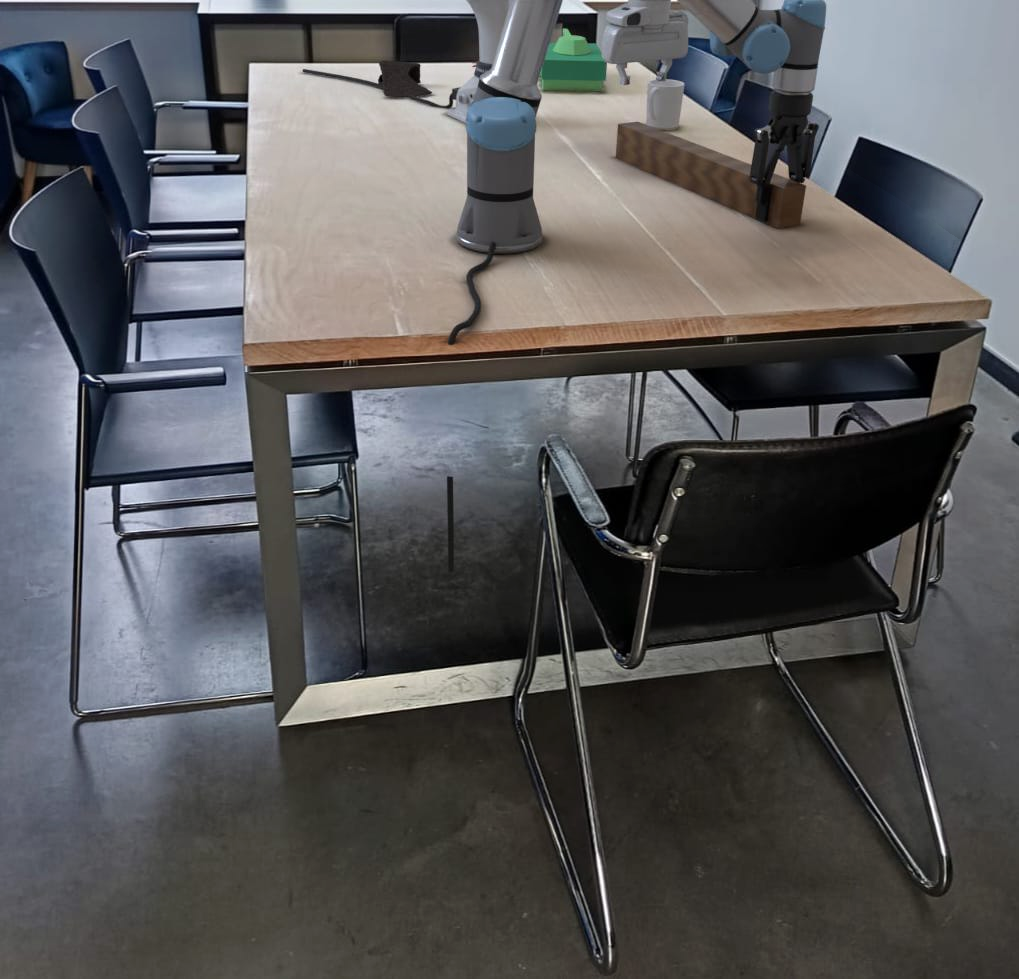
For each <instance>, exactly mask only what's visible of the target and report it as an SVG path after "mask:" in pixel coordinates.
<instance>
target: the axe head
mask: <svg viewBox="0 0 1019 979" xmlns="http://www.w3.org/2000/svg"><path fill="white" fill-rule="evenodd" d="M378 66H379V68H380V72H381V74H379V75H378V79H377V83H378V84H381V86H382V88H383V89H382V88H381V89H382V90H383V95H384V96H385V97H388V98H394V99H395V98H396V99H403V98H405V99H406V98H407V99H409V98H408V97H407V96H406V94H405V93H408V94H411V95H413V96H416V97H418V98H420V97H425V96H429V95H432V94H433V91H431V90H430V89H428V88H427V87H425V86H422V85H421V84H422V82H421V63H419V62H410V61H408V62H407V61H397V60H388V59H387V60H380V61H379V62H378Z"/></svg>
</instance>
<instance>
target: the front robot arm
mask: <svg viewBox="0 0 1019 979" xmlns="http://www.w3.org/2000/svg"><path fill="white" fill-rule="evenodd" d="M563 1H564V0H510V2H509V8H508V12H507V15H506V19H505V22H504V26H503V29H502V33H501V36H500V40H499V43H498V47H497V50H496V54H495V57H494V61H493V64H492V68H491V69H490V70H489V71H487V72H486V73H484V74H482V75H481V76H480V79H479V82H478V86H477V89H476V93H475V96H474V100H473V102H472V104H471V106H470V107H469V109H468V112H467V117H466V123H465V130H466V192H467V193H466V198H465V202H464V205H463V209H462V211H461V214H460V218H459V220H458V224H457V228H456V241H457V243H458V244H459V245H461V246H462V247H464V248H466V249H468V250H470V251H475V252H479V253H486V254H487V255H486V258H485V259H484V260H483V261H482V262H481V263H479V264H477V265H475V266H473V267H471V268H469V270H468V272H467V274H466V276H465V277H466V278H465V279H466V285H467V287H468V290H469V294H470V295H471V297H472V299H473V302H474V307H473V308H474V309H473V311H472V313H471V314H470V316H469V317H468V318H467V319H466V320H465V321H463V322H460V323H457V324H456V325H455V326H454V327H453V328H452V330H451V332H450V334H449V335H448V340H447V345H449V346H453V345H455V343H456V339H457V336H458V334H459V333H460V332H461V331H462V330H464V329H468V328H470V327H471V326H472V325H473V324H474V322H475V321H476V320H477V318H478V317H479V315H480V312H481V309H482V300H481V298H480V295H479V294H478V292H477V289H476V287H475V283H474V281H473V277H474V275H475V274H476V273H477V272H479V271H482V270H484V269H485V268H487V267H488V266H489V265H490V264H491V263H492V260H493V258H494V254H497V255H499V254H500V255H506V254H507V255H508V254H517V253H524V252H527V251H530V250H533V249H536V248H538V247H539V246H540V245H541V244H542V243H543V229H542V224H541V221H540V220H541V219H540V218H539V214H538V213H539V212H538V210H537V206H536V204H535V199H534V183H535V181H534V180H535V148H536V147H535V146H536V133H537V128H538V127H537V121H536V118H537V115H538V111H539V108H540V104H541V101H542V98H543V95H542V93H541V90H540V89H539V85H538V82H539V79H540V77H541V76H540V73H541V70H542V66H543V63H544V60H545V57H546V53H547V50H548V47H549V44H550V43H551V40H552V37H553V34H554V30H555V28H556V25H557V21H558V17H559V15H560V11H561V7H562V4H563ZM676 1H677V2H678V3H679V4H680V5H681V6H682V7H683V8H684V9H686V11H688V12H689V13H690V14H691V15H692V16H693V17H694V18H695V19H696V20H697V21H699V22H700V24H702V25H703V26H704V27H705V28H706V29H707V30H708V31H709V45H710V47H709V48H710V50H711V52H712V54H714V55H715V56H725V57H731V56H734V57H736V58H738V60H740V61H741V62H742V63H743V64H744V66H746V67H747V68H748V69H749V70H750V71H752V72H753V73H756V74H757V73H758V74H762V75H763V74H764V75H765V74H771V73H773V76H772V83H771V87H772V88H773V90H772V91H771V92H770V97H769V104H768V111H769V114H770V117H769V120H768V121H767V124H766V126H764V127H761V128H760V127H756V128H755V129H754V131H753V135H754V146H753V152H752V159H751V163H750V164H751V170H750V177H749V181H750V182H752V183H755V184H757V192H756V199H755V200H756V202H757V208H756V215H755V218H756V219H755V218H754V219H755V220H758V219H759V220H758V221H760V220H761V221H760V222H762V221H763V222H762V223H765V222H767V221H768V214H769V207H770V200H771V194H772V187H771V186H769V184H770V181H771V179H772V176H773V173H775V171H776V167H777V164H778V161H779V158H780V156H781V153H782V151H784V150H785V147H786V153H787V154H786V156H787V172H788V179H790V180H793V181H796V182H798V183H801V184H804V183H805V182H806V178H809V177H810V176H811V170H812V162H813V155H814V148H815V142H816V141H815V139H816V136H817V133H818V131H819V128H820V124H819V123H815V122H812V121H809V119H808V116H809V115H810V114H811V113H812V107H813V101H814V94H813V91H815V89H816V82H817V75H818V68H819V61H820V60H819V59H820V55H821V50H822V44H823V38H824V32H825V30H826V17H827V2H826V1H825V0H783V3H782V6H781V8H777V9H761V8H759V7H758V6H757V5H756V3H754V2H753V1H752V0H676ZM446 504H447V505H446V506H447V509H446V510H447V571H448V572H449V573H454V572H455V524H454V522H455V520H454V519H455V518H454V517H455V516H454V515H455V514H454V511H455V510H454V476H449V475H446Z"/></svg>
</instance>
